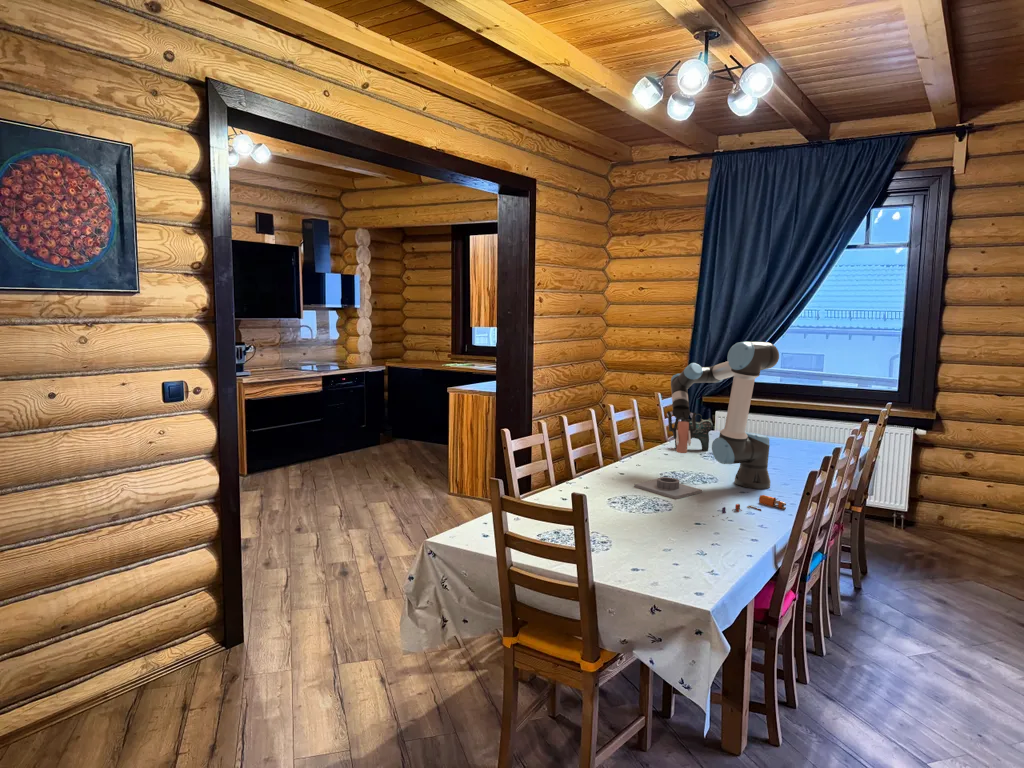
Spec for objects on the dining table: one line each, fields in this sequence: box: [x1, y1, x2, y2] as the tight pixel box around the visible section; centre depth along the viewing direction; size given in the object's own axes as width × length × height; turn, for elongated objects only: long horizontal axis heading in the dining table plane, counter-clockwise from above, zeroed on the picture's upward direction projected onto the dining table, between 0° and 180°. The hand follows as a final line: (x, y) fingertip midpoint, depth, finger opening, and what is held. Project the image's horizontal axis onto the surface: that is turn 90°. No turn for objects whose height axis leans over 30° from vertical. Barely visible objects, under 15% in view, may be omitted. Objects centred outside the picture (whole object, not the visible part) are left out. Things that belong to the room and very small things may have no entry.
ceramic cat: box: [674, 413, 713, 452], centre depth 372 cm, size 20×6×20 cm, turn 80°
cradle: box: [633, 476, 703, 500], centre depth 288 cm, size 22×18×4 cm
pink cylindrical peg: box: [675, 420, 690, 454], centre depth 310 cm, size 5×5×14 cm
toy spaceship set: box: [713, 494, 787, 521], centre depth 260 cm, size 11×35×4 cm, turn 128°
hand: (683, 443), depth 307 cm, fingers closed on pink cylindrical peg, 5 cm apart
